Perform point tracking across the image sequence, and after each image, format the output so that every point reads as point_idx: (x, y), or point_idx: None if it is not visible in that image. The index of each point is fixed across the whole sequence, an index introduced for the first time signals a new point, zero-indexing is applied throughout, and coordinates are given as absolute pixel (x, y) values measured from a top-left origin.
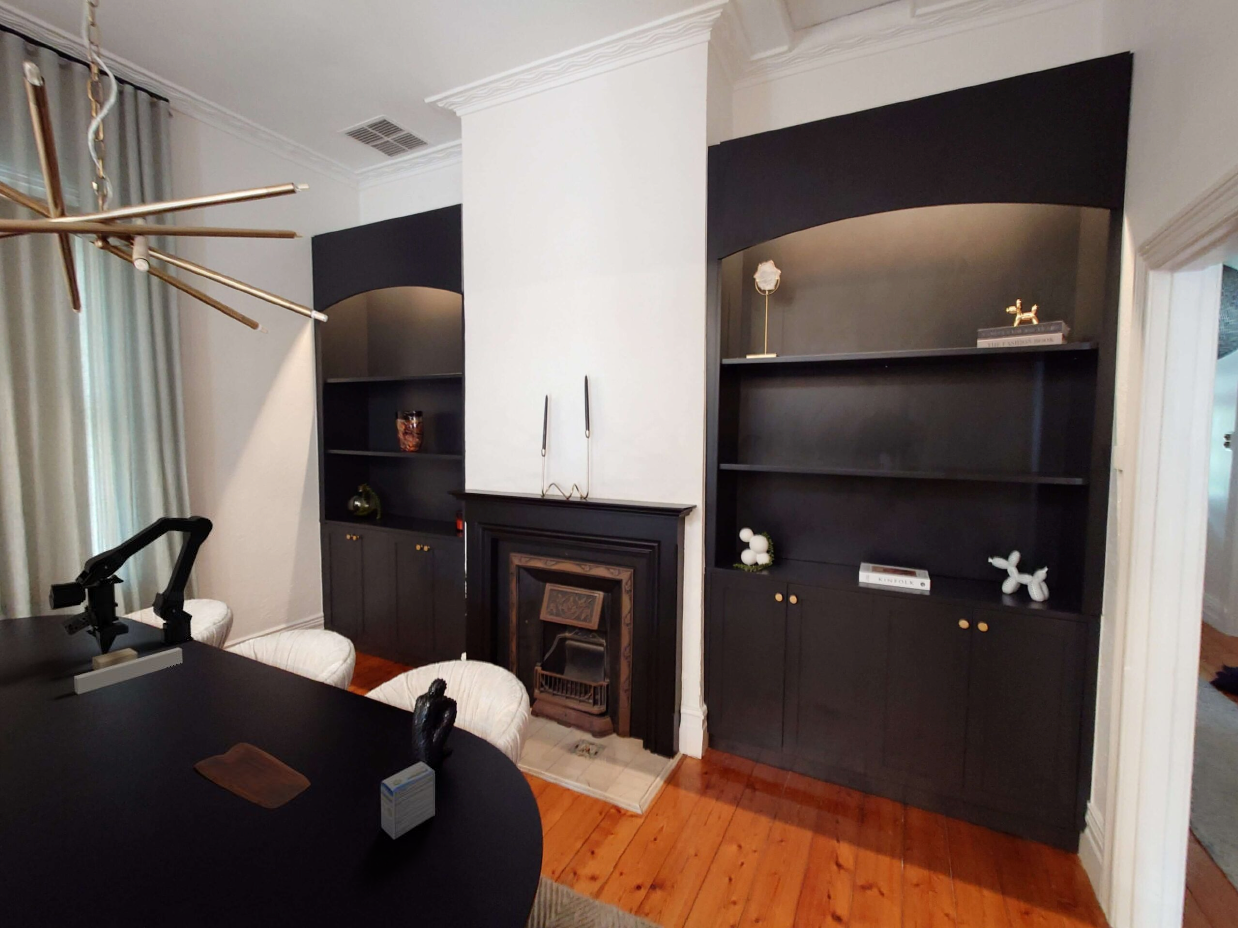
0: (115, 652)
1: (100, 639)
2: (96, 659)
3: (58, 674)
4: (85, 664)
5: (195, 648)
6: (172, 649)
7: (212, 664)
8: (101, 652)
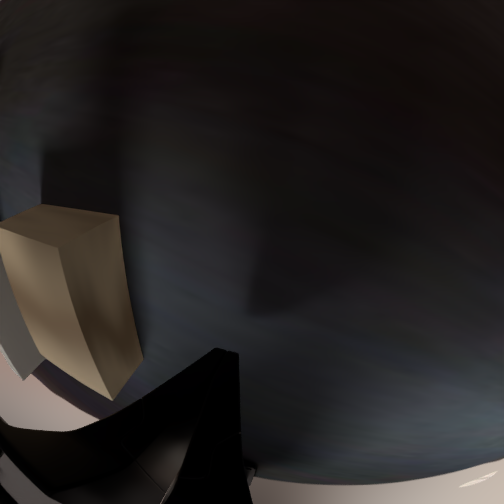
0: (77, 347)
1: (77, 432)
2: (24, 240)
3: (190, 41)
4: (243, 227)
5: None
6: (14, 368)
7: None
8: (221, 358)
